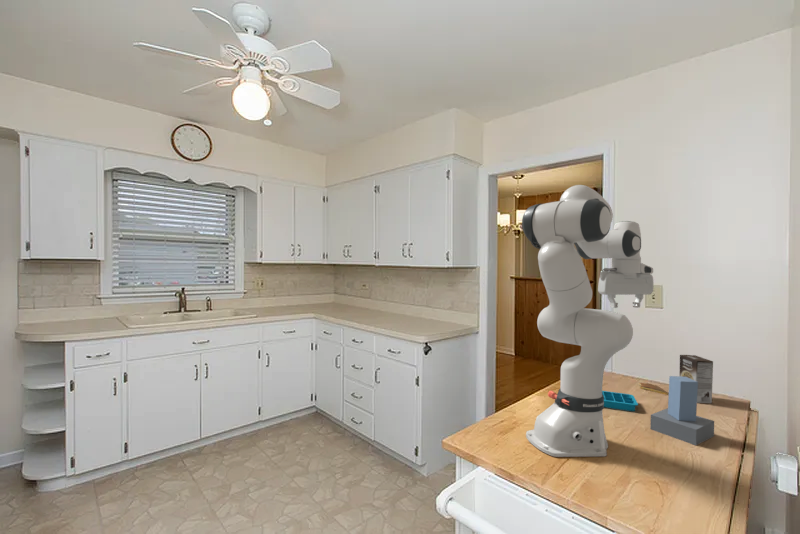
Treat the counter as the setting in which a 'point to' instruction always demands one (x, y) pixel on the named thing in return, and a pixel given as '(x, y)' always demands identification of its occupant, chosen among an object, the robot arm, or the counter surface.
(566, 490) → the counter surface
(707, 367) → the coffee box
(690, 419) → the slate-blue block
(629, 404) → the ice cube tray
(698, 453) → the counter surface
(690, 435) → the charcoal block
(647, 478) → the counter surface
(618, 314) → the robot arm
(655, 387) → the shard
